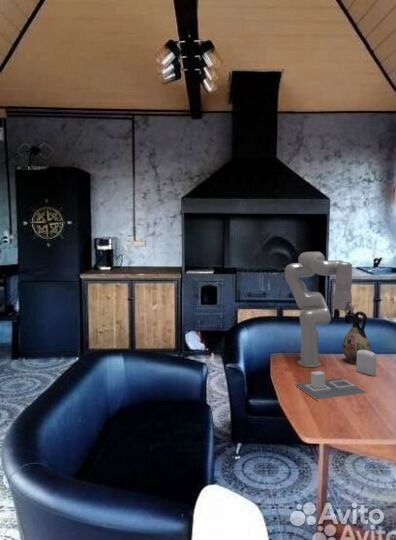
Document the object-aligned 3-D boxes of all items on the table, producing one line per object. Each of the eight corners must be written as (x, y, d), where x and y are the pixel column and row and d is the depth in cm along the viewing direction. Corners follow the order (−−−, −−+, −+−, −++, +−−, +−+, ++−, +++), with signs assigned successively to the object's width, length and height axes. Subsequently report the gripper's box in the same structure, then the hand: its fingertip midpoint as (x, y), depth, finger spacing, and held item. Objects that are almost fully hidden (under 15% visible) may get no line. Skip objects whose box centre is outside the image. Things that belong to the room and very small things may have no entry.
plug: (310, 388, 206) (311, 372, 205) (321, 387, 207) (321, 370, 207) (315, 391, 202) (315, 374, 201) (326, 390, 204) (326, 373, 203)
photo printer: (354, 371, 232) (355, 349, 231) (359, 370, 235) (359, 347, 234) (373, 376, 224) (373, 353, 223) (377, 374, 227) (377, 351, 226)
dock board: (294, 386, 212) (294, 381, 212) (340, 380, 220) (340, 375, 219) (317, 401, 193) (317, 396, 193) (366, 394, 201) (366, 389, 200)
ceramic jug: (336, 361, 251) (337, 310, 248) (351, 356, 261) (353, 306, 258) (362, 368, 238) (364, 314, 235) (378, 362, 247) (379, 311, 244)
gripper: (327, 284, 222) (326, 317, 224) (346, 290, 205) (345, 325, 207) (340, 284, 224) (338, 316, 226) (360, 289, 207) (359, 324, 209)
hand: (342, 320), depth 217 cm, fingers open, 9 cm apart
